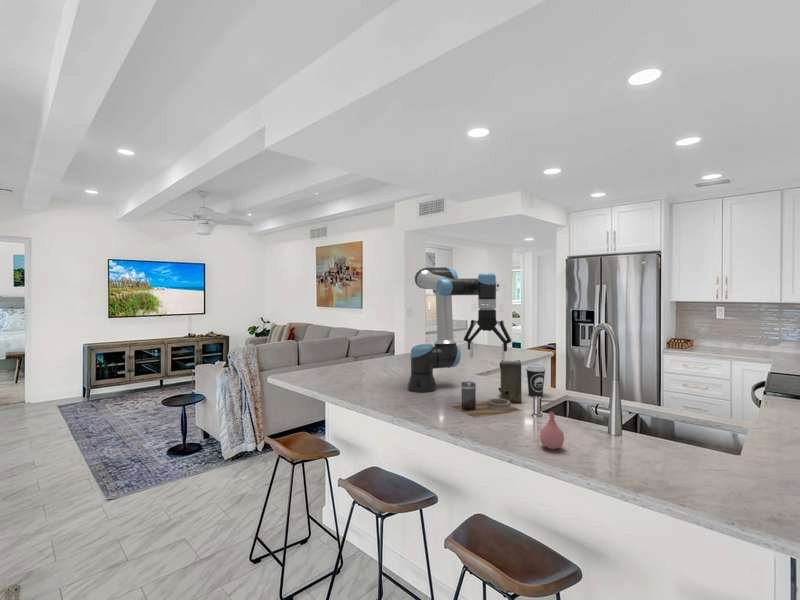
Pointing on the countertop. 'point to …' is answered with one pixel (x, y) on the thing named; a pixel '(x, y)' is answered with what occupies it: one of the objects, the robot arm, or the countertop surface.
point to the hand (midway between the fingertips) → (487, 358)
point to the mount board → (489, 408)
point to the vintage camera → (511, 381)
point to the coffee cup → (535, 379)
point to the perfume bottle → (552, 434)
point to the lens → (468, 396)
